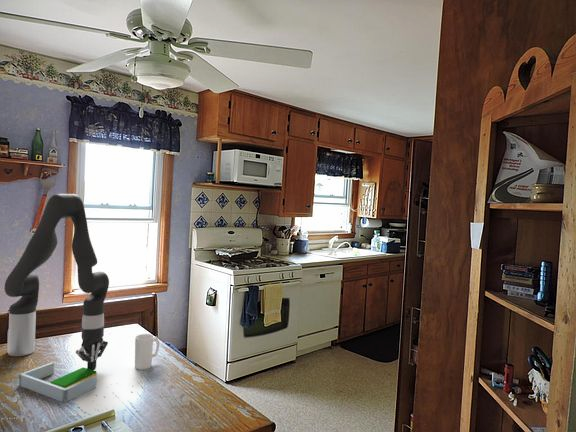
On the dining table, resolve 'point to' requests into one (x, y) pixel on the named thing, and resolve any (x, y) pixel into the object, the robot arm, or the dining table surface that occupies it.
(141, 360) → the mug
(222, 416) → the dining table surface
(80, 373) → the dish sponge
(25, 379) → the frame
